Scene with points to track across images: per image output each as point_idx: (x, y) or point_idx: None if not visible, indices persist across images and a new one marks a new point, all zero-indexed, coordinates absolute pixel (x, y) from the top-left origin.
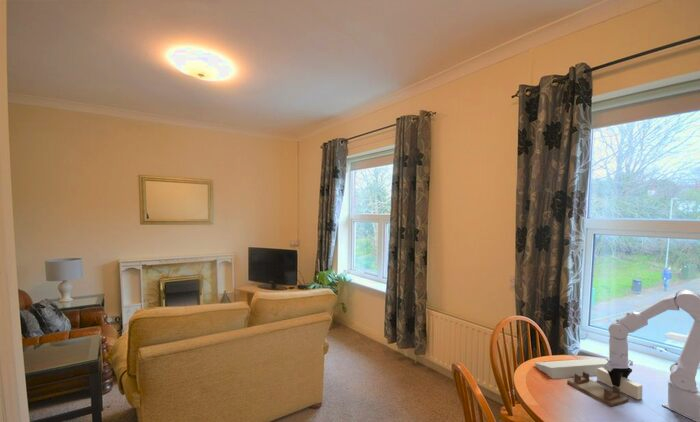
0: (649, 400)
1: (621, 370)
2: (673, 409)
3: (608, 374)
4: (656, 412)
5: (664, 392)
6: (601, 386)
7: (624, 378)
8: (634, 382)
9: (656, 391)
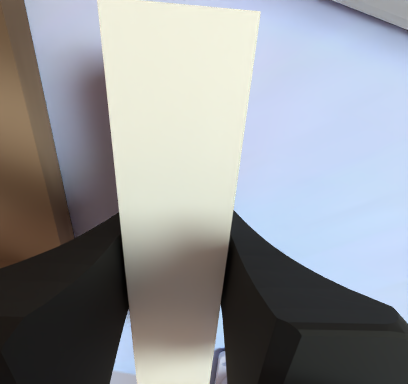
0: (221, 316)
1: (238, 366)
2: (220, 379)
3: (123, 198)
4: (133, 358)
5: (398, 307)
6: (18, 168)
7: (186, 324)
8: (196, 372)
9: (375, 292)
